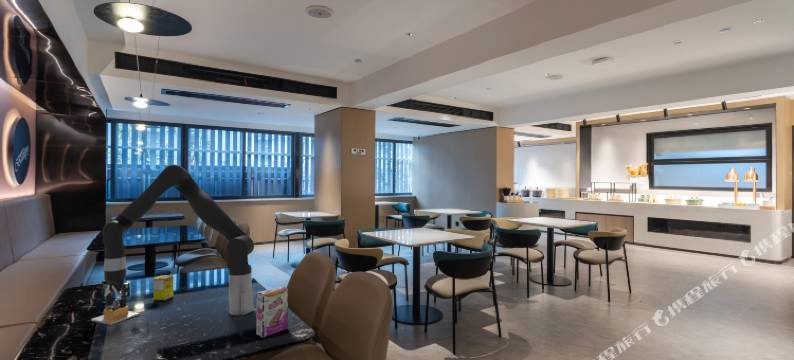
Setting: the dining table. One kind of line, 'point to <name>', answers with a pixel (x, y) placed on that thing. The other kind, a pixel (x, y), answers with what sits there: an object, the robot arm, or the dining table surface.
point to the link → (115, 312)
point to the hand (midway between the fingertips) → (115, 306)
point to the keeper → (111, 321)
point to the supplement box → (163, 288)
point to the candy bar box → (272, 311)
